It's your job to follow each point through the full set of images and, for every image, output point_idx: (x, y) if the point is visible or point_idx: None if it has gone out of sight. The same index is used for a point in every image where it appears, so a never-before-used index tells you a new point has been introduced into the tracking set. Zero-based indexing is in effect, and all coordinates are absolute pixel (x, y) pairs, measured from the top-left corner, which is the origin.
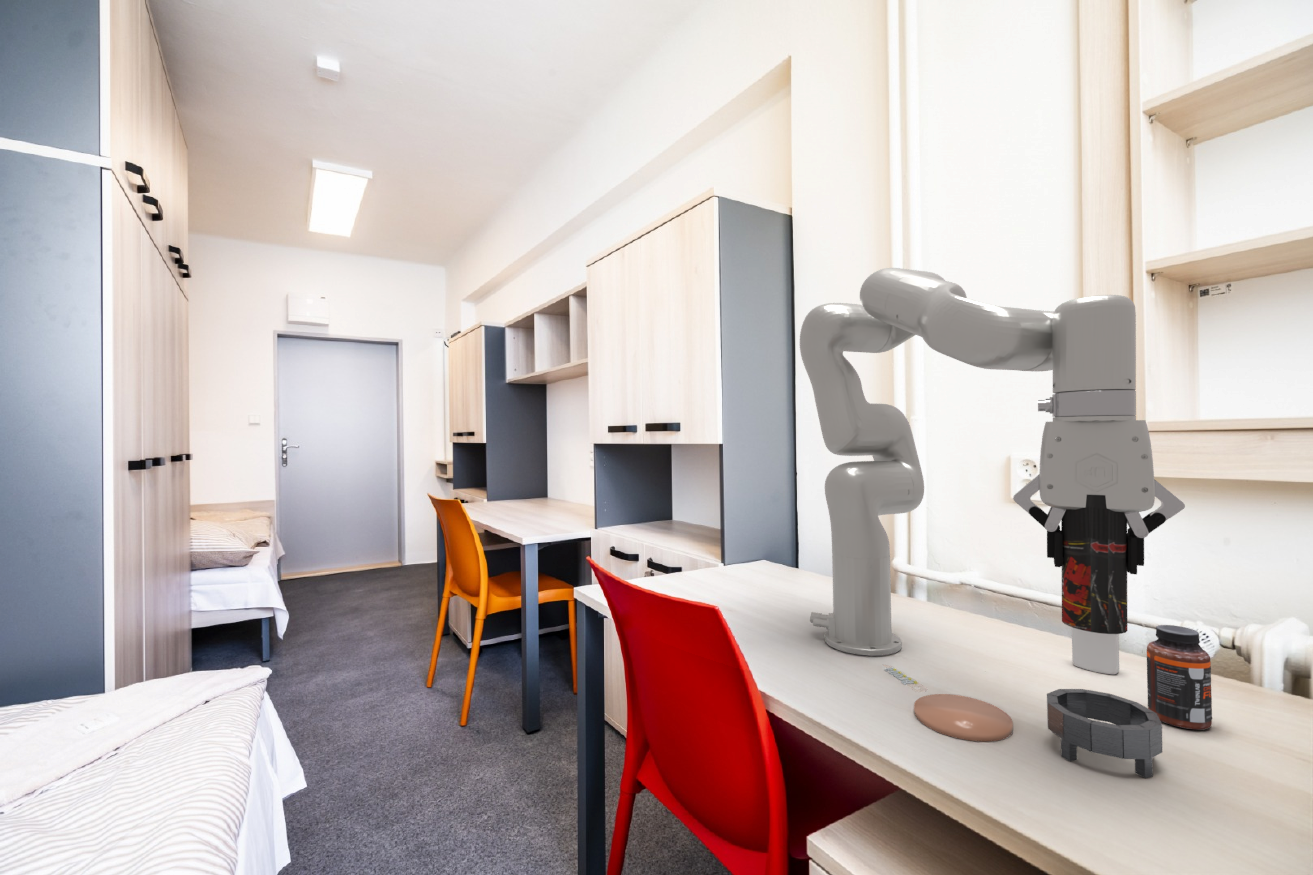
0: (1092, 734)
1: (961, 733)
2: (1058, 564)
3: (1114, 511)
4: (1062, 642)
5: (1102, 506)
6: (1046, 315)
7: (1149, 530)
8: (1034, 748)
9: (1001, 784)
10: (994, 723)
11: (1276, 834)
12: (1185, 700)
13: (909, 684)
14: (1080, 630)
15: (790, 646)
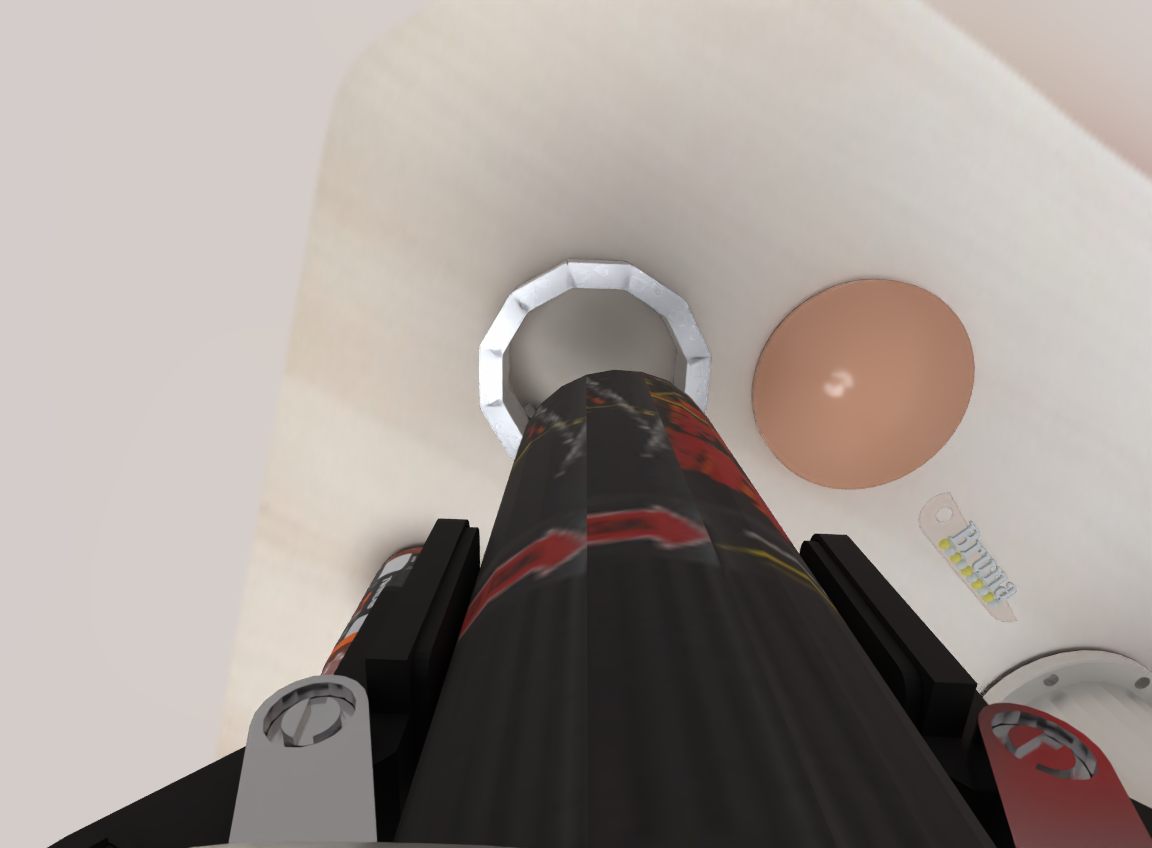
0: (626, 263)
1: (876, 280)
2: (830, 536)
3: (499, 844)
4: None
5: None
6: None
7: (240, 760)
8: (720, 311)
9: (810, 94)
10: (797, 367)
11: (355, 161)
12: (406, 577)
13: (959, 529)
14: None
15: None
